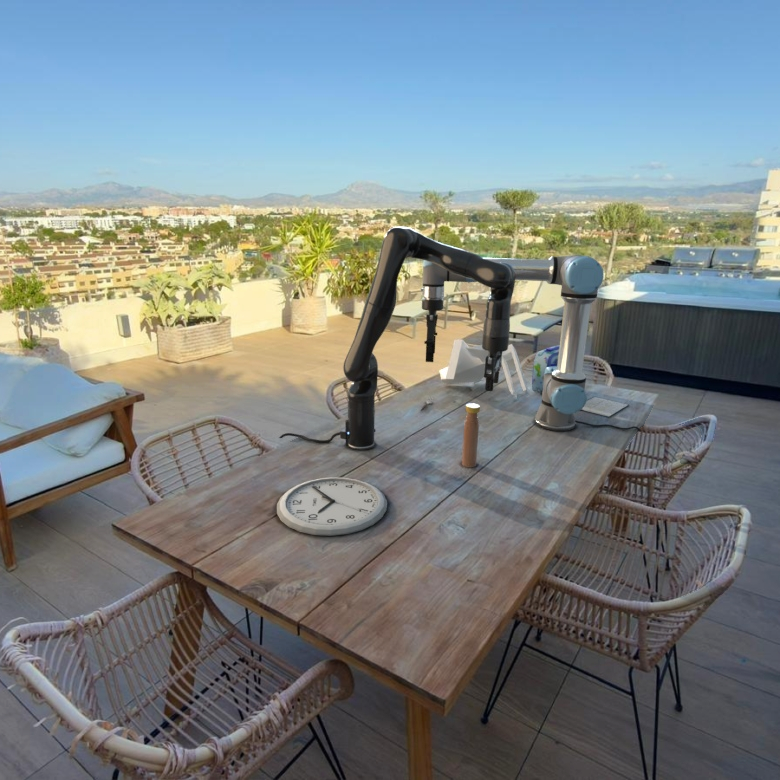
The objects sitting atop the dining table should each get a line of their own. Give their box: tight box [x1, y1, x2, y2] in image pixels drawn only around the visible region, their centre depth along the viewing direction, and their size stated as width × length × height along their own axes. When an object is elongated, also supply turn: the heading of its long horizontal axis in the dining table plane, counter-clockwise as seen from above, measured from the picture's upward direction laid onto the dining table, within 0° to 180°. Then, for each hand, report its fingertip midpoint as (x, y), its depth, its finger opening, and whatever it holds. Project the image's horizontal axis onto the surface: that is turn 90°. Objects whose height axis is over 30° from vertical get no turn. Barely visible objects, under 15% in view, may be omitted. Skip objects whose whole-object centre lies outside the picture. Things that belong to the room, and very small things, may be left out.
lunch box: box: [531, 344, 560, 393], centre depth 245 cm, size 26×11×21 cm, turn 134°
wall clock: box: [276, 476, 388, 537], centre depth 142 cm, size 30×2×30 cm
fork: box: [420, 396, 435, 411], centre depth 223 cm, size 3×16×2 cm, turn 160°
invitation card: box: [580, 396, 629, 418], centre depth 226 cm, size 21×1×15 cm
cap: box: [465, 402, 481, 414], centre depth 163 cm, size 4×4×2 cm
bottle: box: [461, 412, 480, 468], centre depth 166 cm, size 5×5×20 cm
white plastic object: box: [438, 338, 531, 400], centre depth 245 cm, size 37×45×31 cm
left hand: (491, 386), depth 157 cm, fingers open, 8 cm apart
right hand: (430, 357), depth 190 cm, fingers open, 13 cm apart
